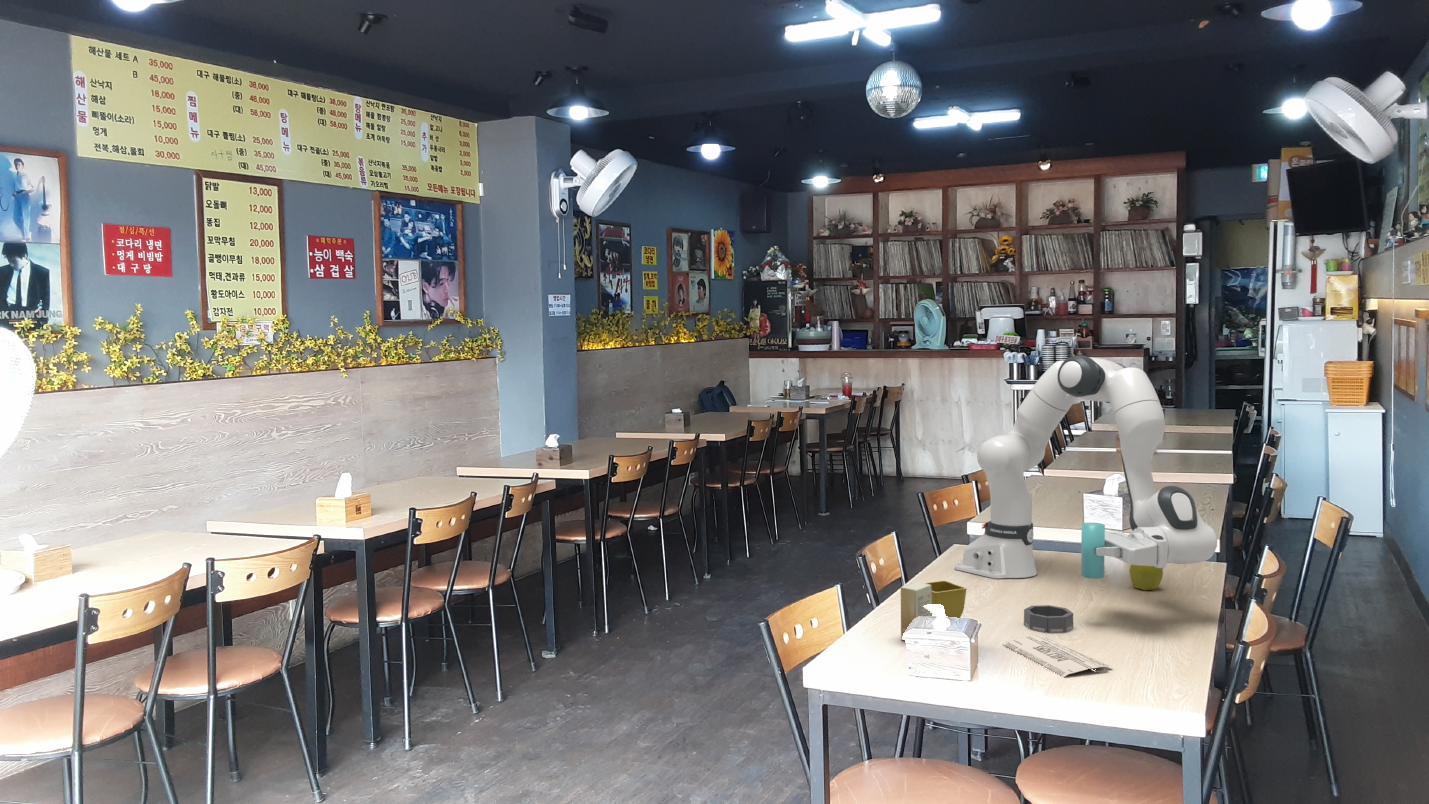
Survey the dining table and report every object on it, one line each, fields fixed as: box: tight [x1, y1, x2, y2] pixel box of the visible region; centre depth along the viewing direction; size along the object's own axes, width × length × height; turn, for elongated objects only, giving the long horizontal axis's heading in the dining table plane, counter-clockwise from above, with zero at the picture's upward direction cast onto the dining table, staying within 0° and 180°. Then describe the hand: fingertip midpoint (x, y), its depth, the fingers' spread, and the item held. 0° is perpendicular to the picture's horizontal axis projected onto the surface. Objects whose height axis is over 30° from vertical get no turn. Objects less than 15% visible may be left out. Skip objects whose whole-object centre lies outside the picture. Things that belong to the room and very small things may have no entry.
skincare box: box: [900, 581, 932, 639], centre depth 230 cm, size 6×4×12 cm
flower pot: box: [923, 580, 967, 619], centre depth 242 cm, size 9×9×9 cm
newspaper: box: [1002, 634, 1113, 678], centre depth 218 cm, size 23×12×2 cm, turn 17°
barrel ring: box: [1023, 604, 1074, 634], centre depth 239 cm, size 10×10×4 cm
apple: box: [1129, 564, 1164, 591], centre depth 271 cm, size 8×8×10 cm
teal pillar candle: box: [1080, 522, 1106, 580], centre depth 239 cm, size 5×5×12 cm
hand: (1089, 548), depth 239 cm, fingers closed on teal pillar candle, 5 cm apart
